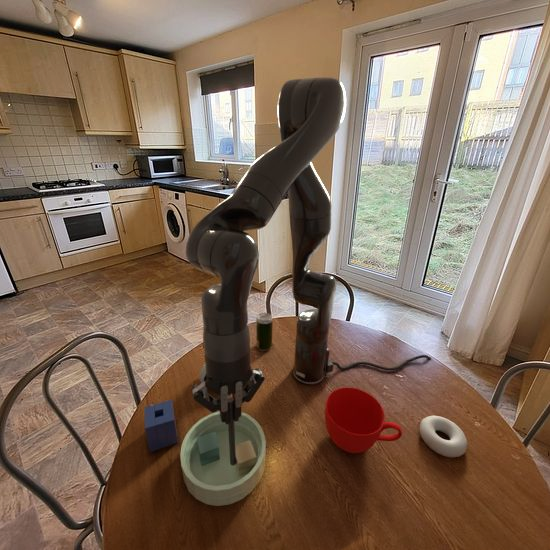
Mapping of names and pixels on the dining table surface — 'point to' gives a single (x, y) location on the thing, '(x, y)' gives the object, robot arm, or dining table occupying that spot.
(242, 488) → the bowl
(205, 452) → the teal block
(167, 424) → the holder
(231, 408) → the stick
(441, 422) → the donut
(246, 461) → the cream block
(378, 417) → the ceramic cup
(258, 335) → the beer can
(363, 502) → the dining table surface
